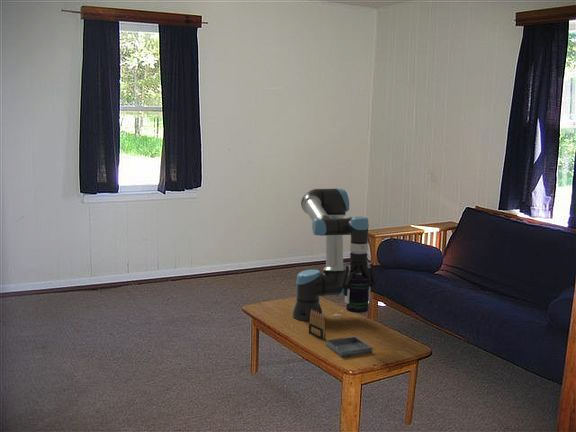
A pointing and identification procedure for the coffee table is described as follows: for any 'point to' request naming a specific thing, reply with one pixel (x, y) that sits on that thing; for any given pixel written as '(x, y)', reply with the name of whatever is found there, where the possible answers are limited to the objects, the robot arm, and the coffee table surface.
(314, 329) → the ammunition clip
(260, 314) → the coffee table surface
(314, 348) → the coffee table surface
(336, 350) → the cradle tray
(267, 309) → the coffee table surface
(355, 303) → the storage jar
